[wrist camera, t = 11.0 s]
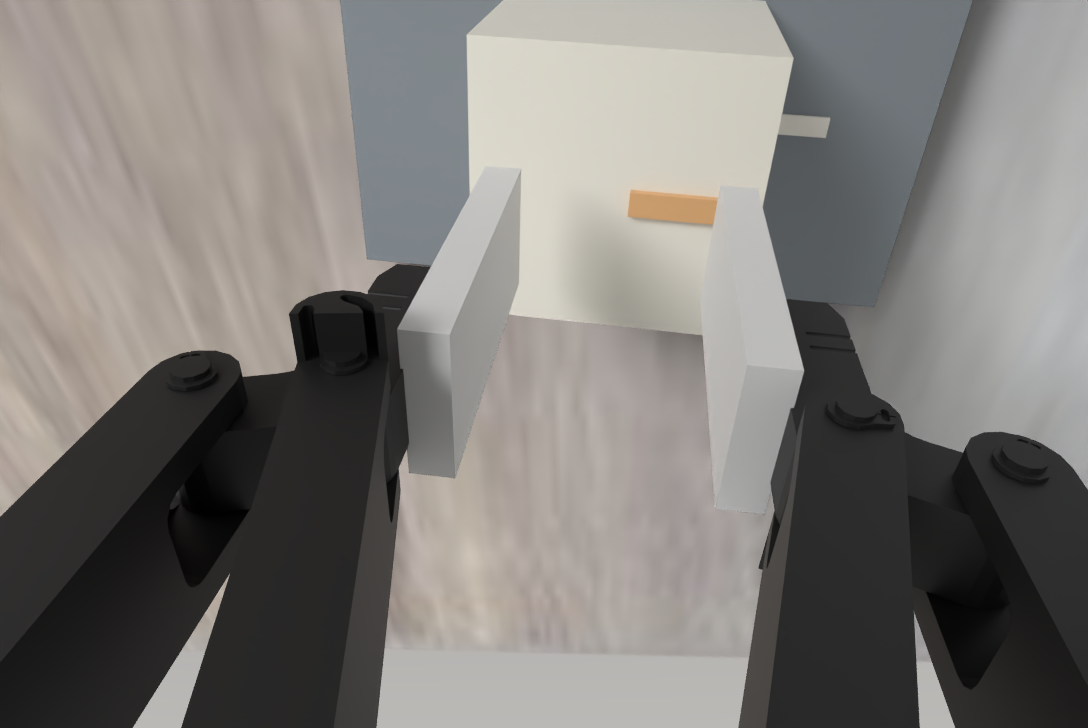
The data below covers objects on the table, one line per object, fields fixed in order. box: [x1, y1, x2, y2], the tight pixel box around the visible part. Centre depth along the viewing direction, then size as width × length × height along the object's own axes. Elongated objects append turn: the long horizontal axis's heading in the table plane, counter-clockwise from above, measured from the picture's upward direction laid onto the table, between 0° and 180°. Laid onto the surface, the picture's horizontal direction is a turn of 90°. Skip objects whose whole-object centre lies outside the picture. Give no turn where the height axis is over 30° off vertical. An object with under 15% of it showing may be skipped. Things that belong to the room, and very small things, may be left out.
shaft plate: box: [340, 0, 973, 307], centre depth 23 cm, size 12×18×6 cm, turn 88°
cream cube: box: [467, 0, 794, 335], centre depth 21 cm, size 7×7×7 cm
